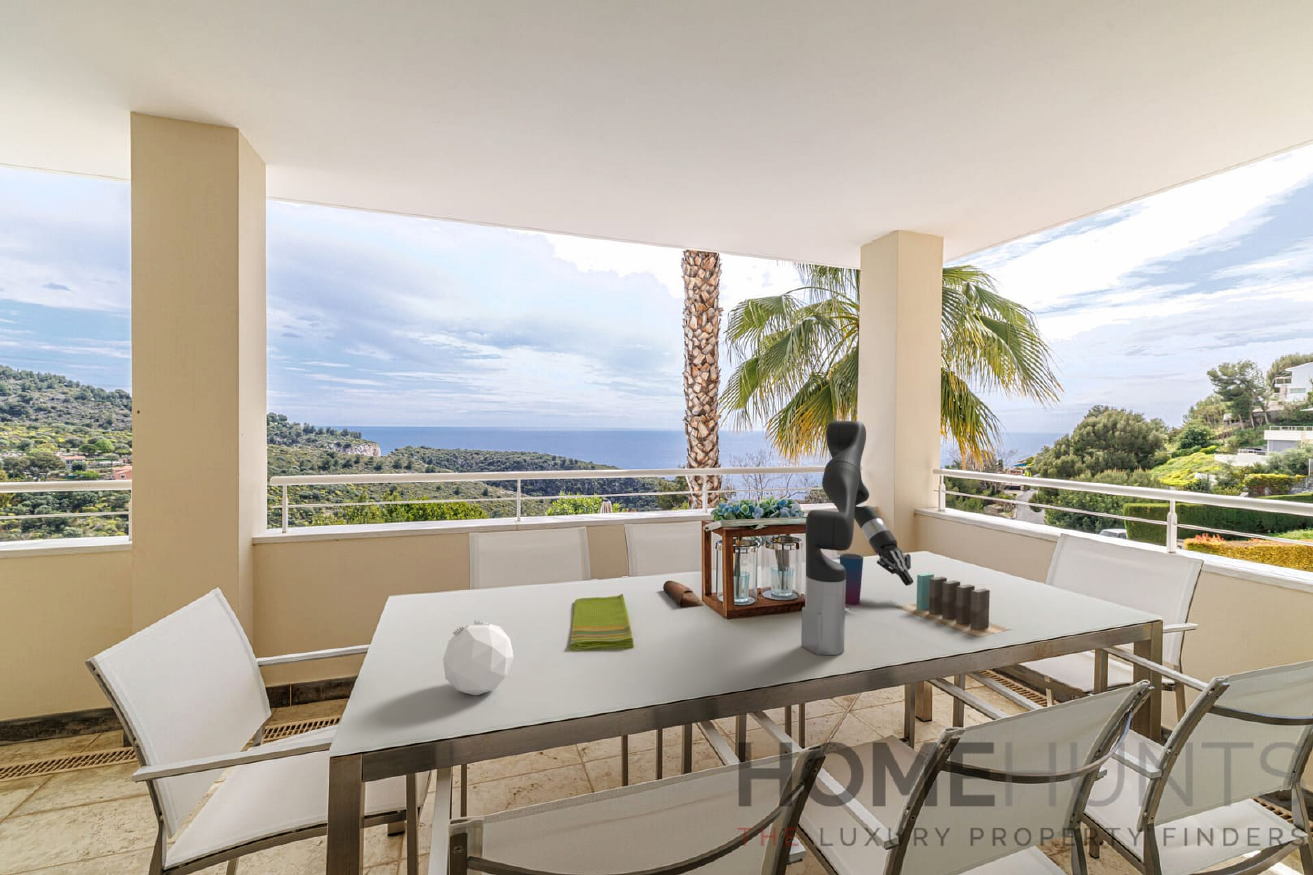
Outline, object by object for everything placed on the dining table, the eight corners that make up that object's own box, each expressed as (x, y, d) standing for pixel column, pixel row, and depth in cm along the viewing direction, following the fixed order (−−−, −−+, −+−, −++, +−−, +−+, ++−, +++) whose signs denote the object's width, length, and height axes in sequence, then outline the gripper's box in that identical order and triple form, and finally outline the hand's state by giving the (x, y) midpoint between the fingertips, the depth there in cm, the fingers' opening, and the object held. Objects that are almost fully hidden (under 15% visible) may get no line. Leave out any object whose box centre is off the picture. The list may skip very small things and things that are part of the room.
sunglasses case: (707, 605, 163) (696, 587, 162) (687, 619, 162) (676, 600, 161) (687, 588, 181) (677, 571, 180) (669, 600, 179) (659, 583, 178)
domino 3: (947, 619, 152) (948, 583, 151) (942, 617, 153) (943, 582, 153) (959, 617, 154) (960, 581, 153) (954, 615, 155) (955, 580, 155)
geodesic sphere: (432, 688, 98) (480, 618, 103) (415, 661, 109) (458, 599, 114) (495, 717, 105) (536, 651, 110) (472, 689, 116) (511, 630, 121)
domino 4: (961, 624, 148) (962, 587, 148) (955, 622, 149) (956, 586, 149) (973, 622, 150) (974, 585, 150) (968, 620, 151) (969, 584, 151)
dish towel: (569, 653, 129) (569, 639, 129) (573, 604, 165) (573, 593, 165) (634, 650, 131) (634, 637, 131) (624, 602, 167) (625, 592, 167)
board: (976, 641, 139) (976, 637, 139) (896, 610, 162) (896, 607, 162) (1011, 633, 145) (1011, 629, 145) (929, 604, 168) (929, 601, 168)
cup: (858, 610, 161) (859, 559, 161) (835, 605, 165) (836, 556, 165) (865, 604, 167) (866, 555, 166) (842, 600, 171) (843, 552, 170)
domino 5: (976, 630, 144) (977, 592, 144) (970, 628, 145) (971, 590, 145) (988, 627, 146) (989, 590, 146) (982, 625, 148) (983, 588, 147)
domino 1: (921, 610, 159) (921, 576, 159) (916, 608, 161) (917, 574, 160) (933, 608, 161) (933, 574, 161) (928, 606, 163) (929, 572, 163)
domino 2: (933, 614, 155) (934, 579, 155) (928, 613, 157) (929, 578, 157) (946, 612, 157) (946, 577, 157) (941, 610, 159) (941, 576, 159)
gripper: (870, 530, 171) (901, 579, 160) (900, 527, 177) (933, 575, 166) (856, 544, 176) (886, 592, 165) (886, 541, 182) (917, 588, 171)
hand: (910, 584), depth 166 cm, fingers closed
